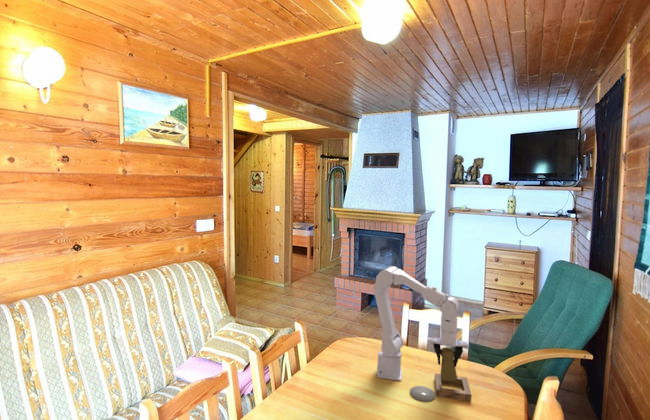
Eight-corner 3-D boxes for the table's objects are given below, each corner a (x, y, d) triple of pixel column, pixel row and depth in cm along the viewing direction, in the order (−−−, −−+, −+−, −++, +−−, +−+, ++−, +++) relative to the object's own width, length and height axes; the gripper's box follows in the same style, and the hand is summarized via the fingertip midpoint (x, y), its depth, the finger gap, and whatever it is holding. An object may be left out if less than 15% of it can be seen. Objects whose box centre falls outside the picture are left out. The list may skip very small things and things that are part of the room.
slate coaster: (410, 399, 131) (410, 397, 131) (410, 386, 140) (410, 384, 140) (435, 403, 129) (435, 401, 129) (434, 389, 138) (434, 387, 138)
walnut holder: (436, 396, 133) (436, 389, 133) (434, 379, 145) (434, 373, 145) (471, 401, 131) (471, 394, 130) (466, 383, 142) (466, 377, 142)
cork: (458, 381, 133) (457, 352, 132) (441, 381, 134) (439, 352, 134) (455, 373, 139) (454, 345, 138) (439, 372, 140) (437, 345, 140)
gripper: (429, 331, 133) (427, 367, 134) (471, 336, 130) (469, 372, 131) (428, 324, 140) (426, 358, 141) (467, 328, 137) (466, 363, 138)
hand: (446, 364), depth 136 cm, fingers closed on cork, 5 cm apart
